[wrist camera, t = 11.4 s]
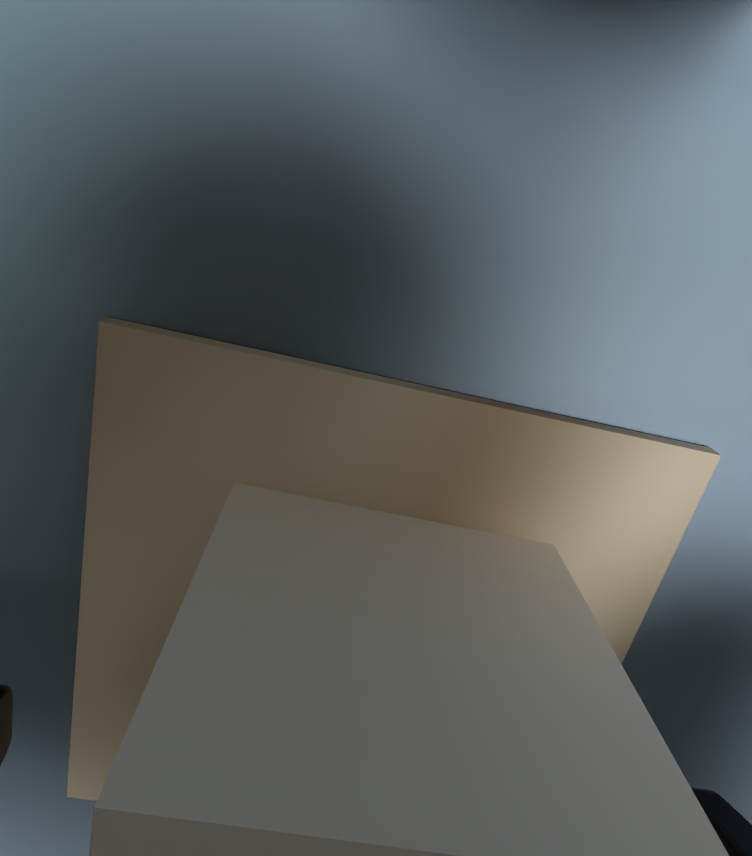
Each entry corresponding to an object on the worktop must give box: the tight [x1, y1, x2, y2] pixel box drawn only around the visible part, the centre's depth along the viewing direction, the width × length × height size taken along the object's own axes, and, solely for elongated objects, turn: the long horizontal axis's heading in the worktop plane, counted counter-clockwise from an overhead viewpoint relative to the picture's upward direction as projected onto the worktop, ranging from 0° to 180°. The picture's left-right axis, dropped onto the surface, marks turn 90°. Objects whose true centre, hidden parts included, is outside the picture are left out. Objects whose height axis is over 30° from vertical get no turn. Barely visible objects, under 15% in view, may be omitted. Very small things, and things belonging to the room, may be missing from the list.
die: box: [89, 483, 729, 856], centre depth 8 cm, size 5×5×5 cm
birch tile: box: [67, 317, 721, 801], centre depth 10 cm, size 9×9×1 cm
